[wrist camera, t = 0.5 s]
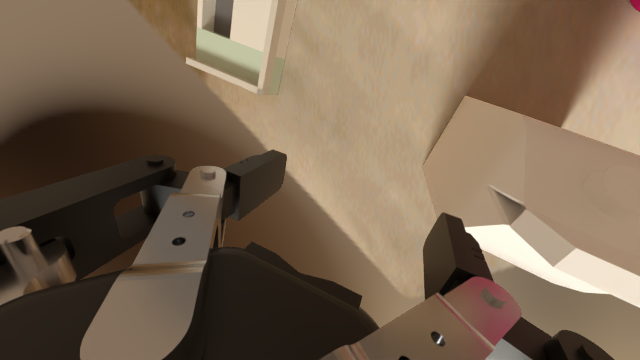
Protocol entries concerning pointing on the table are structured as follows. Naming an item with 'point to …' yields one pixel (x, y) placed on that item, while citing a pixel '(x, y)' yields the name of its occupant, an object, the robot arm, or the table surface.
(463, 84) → the table surface
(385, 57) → the table surface
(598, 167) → the milk
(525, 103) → the table surface
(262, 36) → the tray
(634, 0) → the pepper mill
